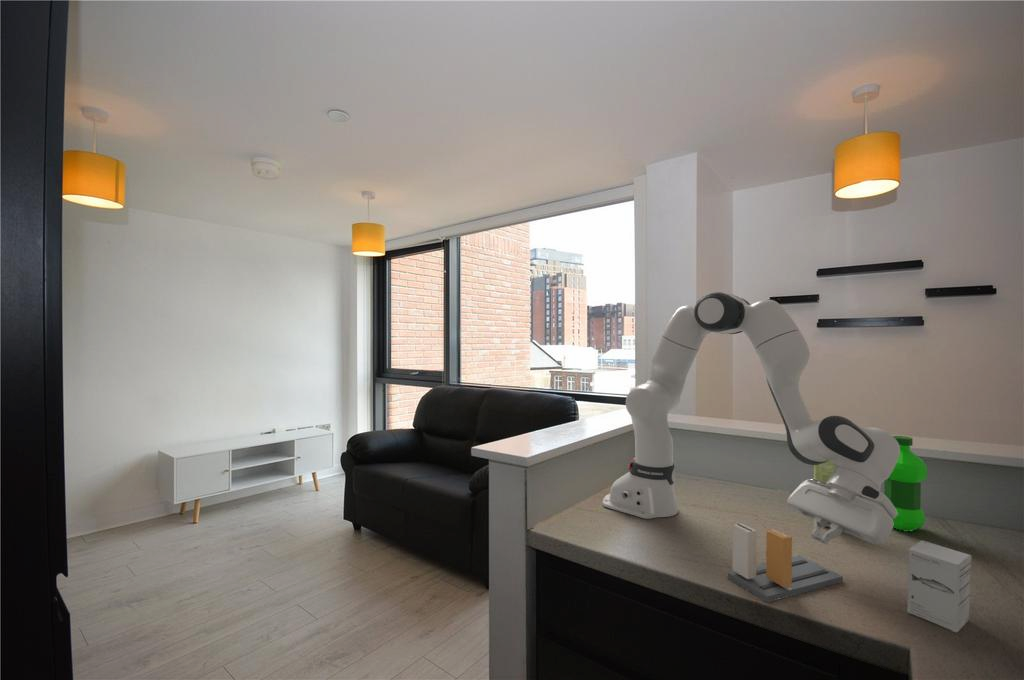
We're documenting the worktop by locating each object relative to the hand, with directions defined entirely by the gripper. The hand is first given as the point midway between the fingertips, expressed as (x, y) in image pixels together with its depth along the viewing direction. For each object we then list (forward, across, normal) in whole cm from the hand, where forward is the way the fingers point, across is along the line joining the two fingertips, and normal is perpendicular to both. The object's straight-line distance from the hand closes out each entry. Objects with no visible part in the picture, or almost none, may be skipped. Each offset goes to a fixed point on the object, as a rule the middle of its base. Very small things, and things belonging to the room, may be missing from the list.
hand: (818, 539), depth 101 cm
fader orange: (+13, +1, -4) cm, 14 cm away
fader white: (+16, -4, -7) cm, 18 cm away
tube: (-15, -19, +27) cm, 36 cm away
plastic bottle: (-27, -10, +39) cm, 49 cm away
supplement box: (0, +18, +11) cm, 21 cm away
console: (+11, -2, +1) cm, 11 cm away
